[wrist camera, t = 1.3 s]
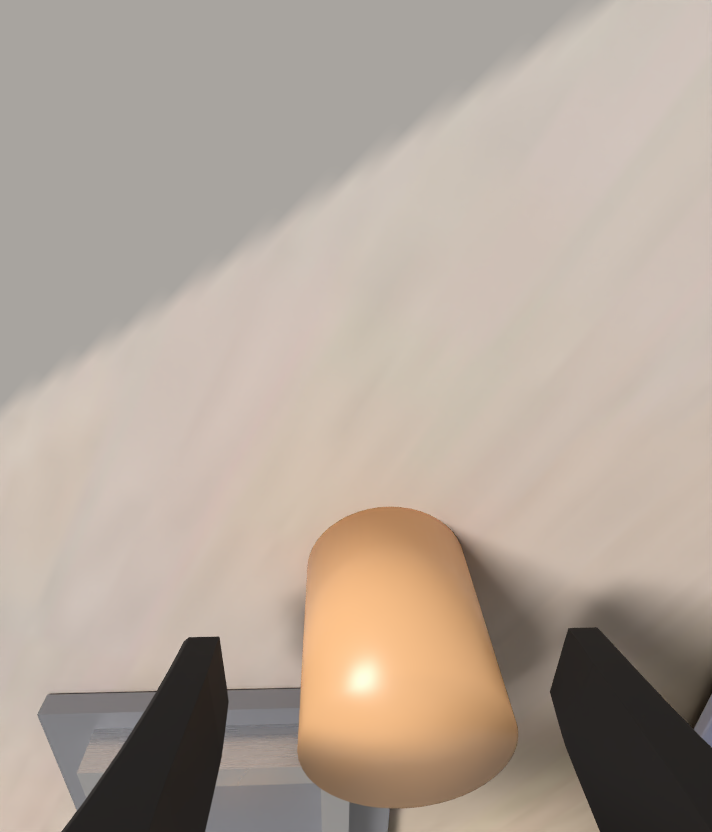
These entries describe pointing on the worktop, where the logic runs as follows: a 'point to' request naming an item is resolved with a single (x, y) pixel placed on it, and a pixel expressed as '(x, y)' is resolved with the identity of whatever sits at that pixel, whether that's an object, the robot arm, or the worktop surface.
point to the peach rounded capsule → (398, 666)
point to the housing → (239, 769)
